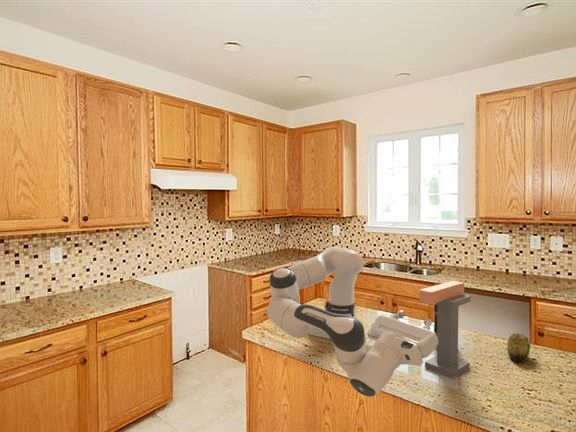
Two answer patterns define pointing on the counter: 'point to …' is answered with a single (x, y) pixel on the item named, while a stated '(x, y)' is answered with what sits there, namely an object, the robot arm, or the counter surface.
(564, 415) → the counter surface
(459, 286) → the block
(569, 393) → the counter surface
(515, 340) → the potato
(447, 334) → the stand
